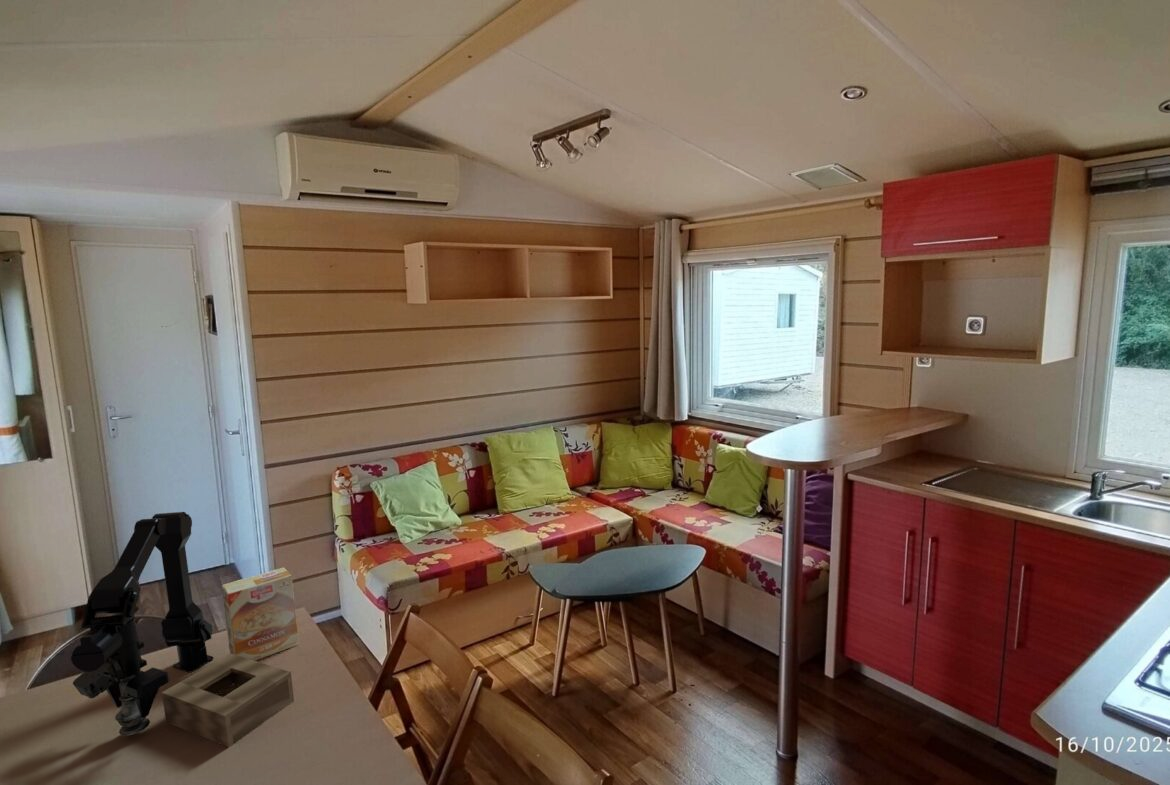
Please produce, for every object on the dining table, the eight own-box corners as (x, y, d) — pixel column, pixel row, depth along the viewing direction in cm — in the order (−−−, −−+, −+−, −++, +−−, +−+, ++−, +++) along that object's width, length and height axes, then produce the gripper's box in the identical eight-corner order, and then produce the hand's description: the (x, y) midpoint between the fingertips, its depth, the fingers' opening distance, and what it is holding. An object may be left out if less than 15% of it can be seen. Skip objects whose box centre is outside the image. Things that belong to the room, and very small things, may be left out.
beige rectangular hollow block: (166, 722, 138) (161, 692, 137) (233, 680, 152) (230, 653, 151) (229, 747, 129) (224, 715, 128) (294, 700, 144) (290, 671, 143)
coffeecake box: (236, 668, 157) (227, 594, 154) (229, 656, 162) (220, 584, 159) (300, 644, 167) (292, 574, 163) (291, 634, 172) (283, 565, 169)
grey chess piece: (141, 735, 131) (132, 682, 129) (111, 737, 131) (101, 684, 129) (157, 716, 137) (149, 665, 135) (128, 718, 136) (120, 667, 134)
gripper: (49, 653, 127) (62, 724, 130) (105, 674, 119) (118, 749, 122) (109, 626, 137) (120, 692, 140) (165, 644, 129) (175, 713, 132)
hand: (132, 711), depth 133 cm, fingers closed on grey chess piece, 8 cm apart
